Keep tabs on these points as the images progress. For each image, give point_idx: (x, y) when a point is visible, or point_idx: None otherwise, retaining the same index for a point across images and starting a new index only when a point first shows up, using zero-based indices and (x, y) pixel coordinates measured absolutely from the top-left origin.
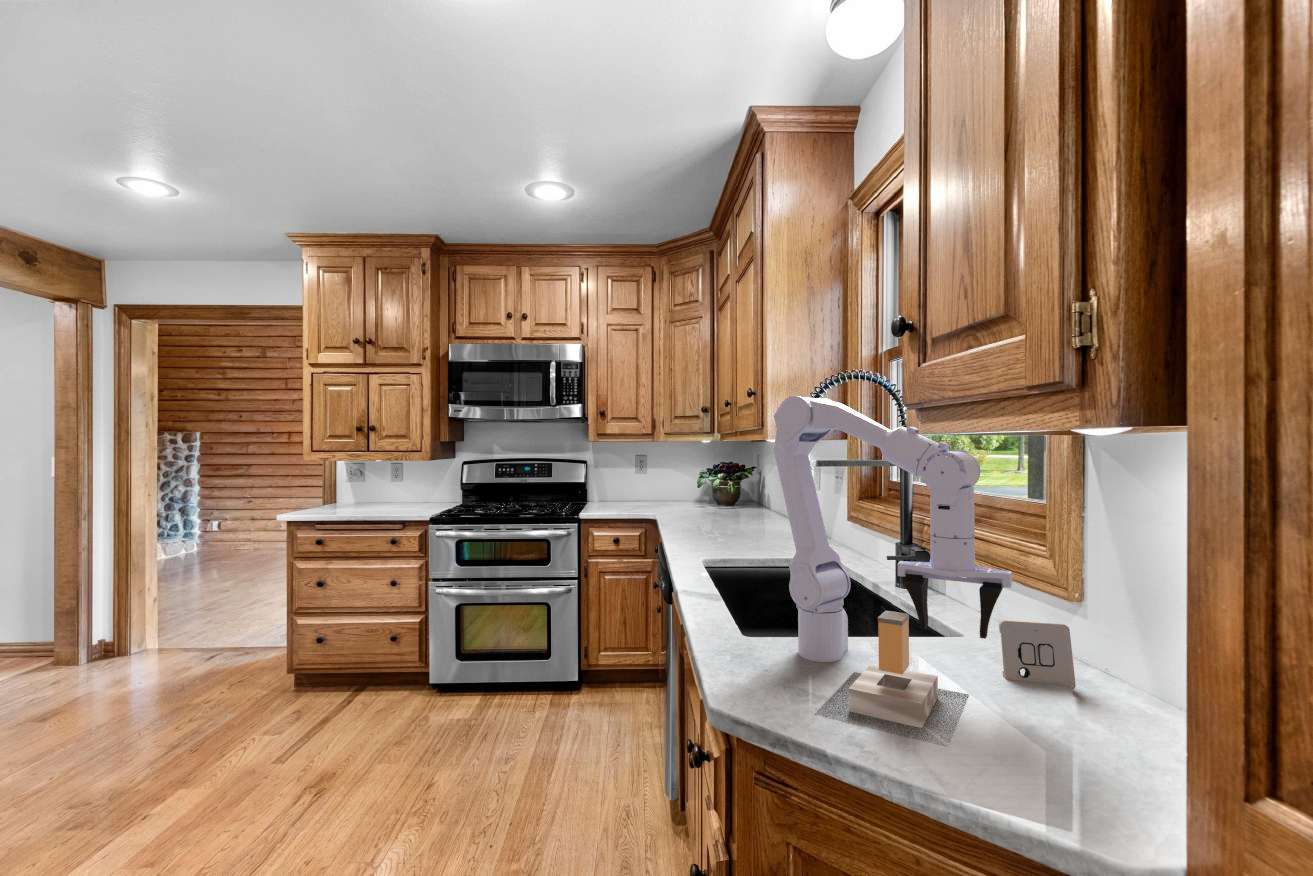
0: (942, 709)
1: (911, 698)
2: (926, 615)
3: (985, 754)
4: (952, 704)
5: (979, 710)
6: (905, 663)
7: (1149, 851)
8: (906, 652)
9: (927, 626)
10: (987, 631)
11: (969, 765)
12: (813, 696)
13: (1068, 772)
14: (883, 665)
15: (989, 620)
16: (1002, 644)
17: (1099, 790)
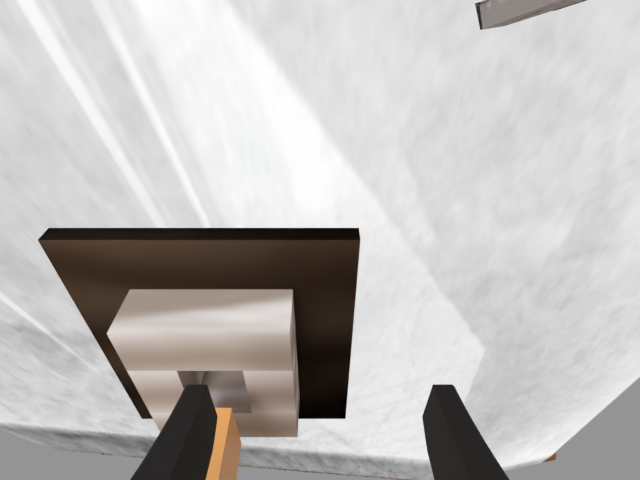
0: (314, 331)
1: (275, 429)
2: (195, 454)
3: (393, 386)
4: (329, 306)
5: (383, 259)
6: (234, 446)
7: (528, 452)
8: (228, 466)
9: (209, 394)
10: (460, 399)
11: (372, 411)
12: (68, 343)
13: (500, 383)
14: None
15: (487, 447)
16: (546, 7)
17: (525, 400)
